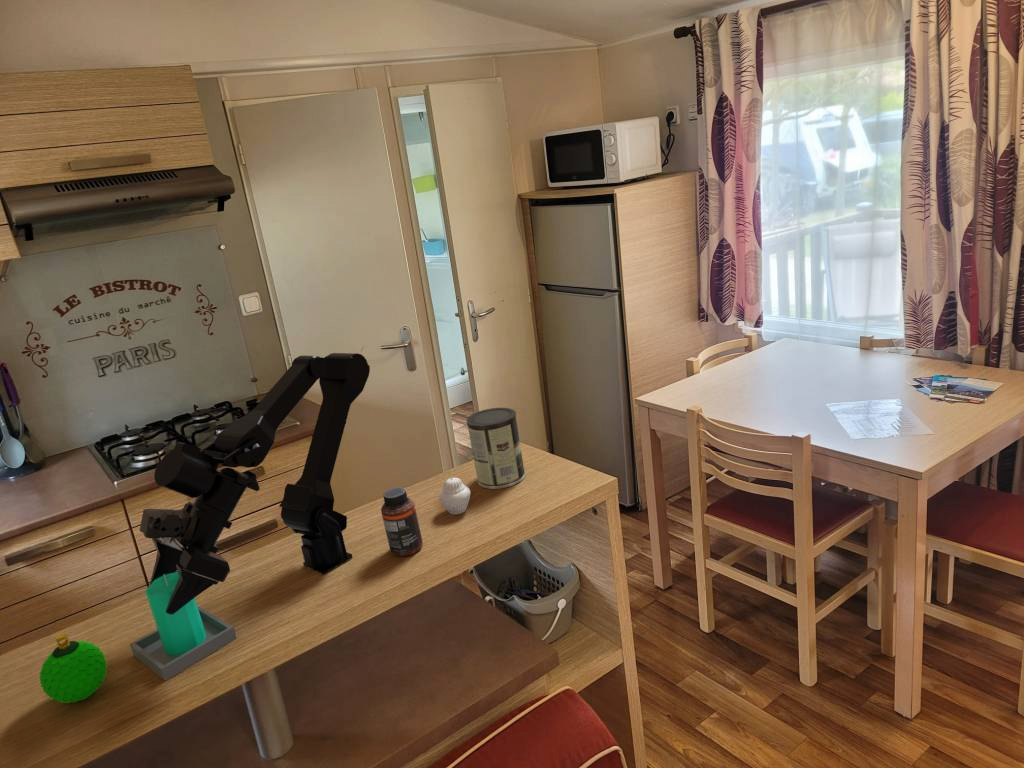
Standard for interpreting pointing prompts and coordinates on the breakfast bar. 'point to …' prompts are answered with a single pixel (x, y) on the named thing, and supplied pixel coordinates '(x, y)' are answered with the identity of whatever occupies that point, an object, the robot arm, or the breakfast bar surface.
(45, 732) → the breakfast bar surface
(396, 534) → the supplement bottle
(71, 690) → the ornament
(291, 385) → the robot arm
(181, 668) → the tray
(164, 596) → the candle
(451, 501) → the muffin
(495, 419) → the coffee can
